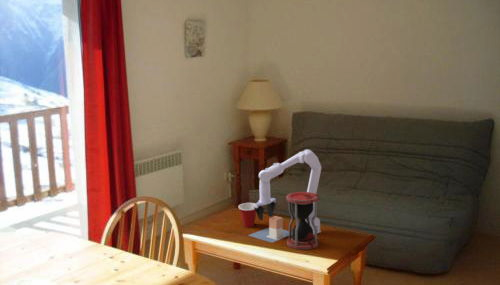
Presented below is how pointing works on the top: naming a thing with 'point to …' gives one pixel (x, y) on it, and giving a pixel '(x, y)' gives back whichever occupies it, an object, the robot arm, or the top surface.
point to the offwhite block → (275, 232)
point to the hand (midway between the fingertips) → (265, 217)
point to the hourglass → (302, 220)
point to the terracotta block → (276, 222)
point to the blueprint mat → (265, 235)
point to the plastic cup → (247, 214)
